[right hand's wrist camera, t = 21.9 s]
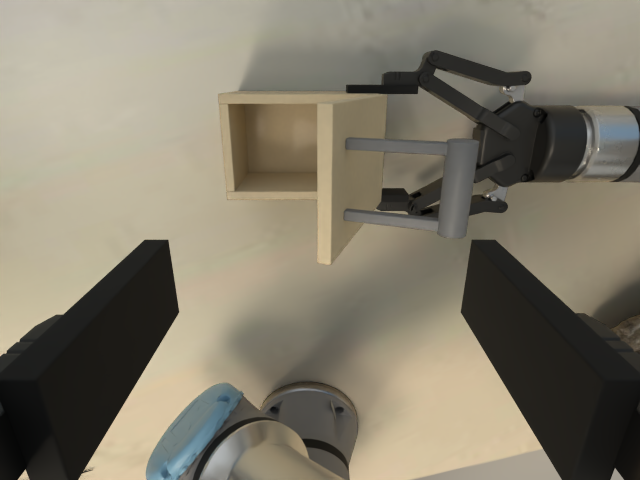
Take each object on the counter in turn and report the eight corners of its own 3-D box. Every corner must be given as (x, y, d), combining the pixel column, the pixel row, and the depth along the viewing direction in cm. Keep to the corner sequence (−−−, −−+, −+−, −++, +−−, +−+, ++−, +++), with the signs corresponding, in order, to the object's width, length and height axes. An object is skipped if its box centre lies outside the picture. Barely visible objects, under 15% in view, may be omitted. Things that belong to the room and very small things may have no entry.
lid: (317, 263, 26) (459, 285, 23) (316, 102, 22) (485, 106, 20) (371, 200, 39) (466, 210, 37) (376, 94, 36) (482, 95, 33)
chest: (243, 177, 48) (227, 199, 40) (237, 91, 45) (217, 93, 36) (364, 177, 48) (375, 199, 40) (368, 91, 45) (381, 94, 36)
